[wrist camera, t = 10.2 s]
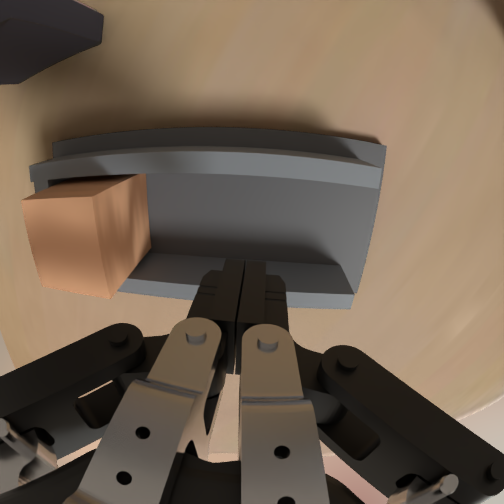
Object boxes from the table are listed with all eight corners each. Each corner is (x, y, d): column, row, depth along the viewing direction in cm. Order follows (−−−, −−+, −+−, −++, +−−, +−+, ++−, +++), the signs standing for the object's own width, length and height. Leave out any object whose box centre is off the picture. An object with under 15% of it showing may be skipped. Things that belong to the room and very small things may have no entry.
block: (81, 174, 18) (21, 200, 12) (146, 170, 18) (92, 196, 12) (90, 243, 21) (42, 286, 14) (151, 247, 20) (110, 298, 14)
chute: (58, 141, 18) (20, 150, 13) (382, 145, 17) (414, 152, 13) (75, 265, 23) (48, 292, 18) (354, 287, 22) (370, 323, 18)
